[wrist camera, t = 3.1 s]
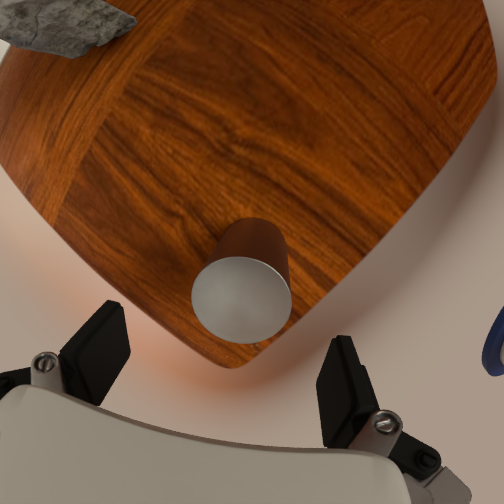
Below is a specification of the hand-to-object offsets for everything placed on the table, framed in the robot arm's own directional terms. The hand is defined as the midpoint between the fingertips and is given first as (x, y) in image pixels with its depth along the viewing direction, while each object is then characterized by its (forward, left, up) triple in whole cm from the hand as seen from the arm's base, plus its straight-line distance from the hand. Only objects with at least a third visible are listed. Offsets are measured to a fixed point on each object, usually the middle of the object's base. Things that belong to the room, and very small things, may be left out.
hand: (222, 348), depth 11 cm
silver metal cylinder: (0, 0, -13) cm, 13 cm away
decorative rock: (+20, -22, -13) cm, 32 cm away
